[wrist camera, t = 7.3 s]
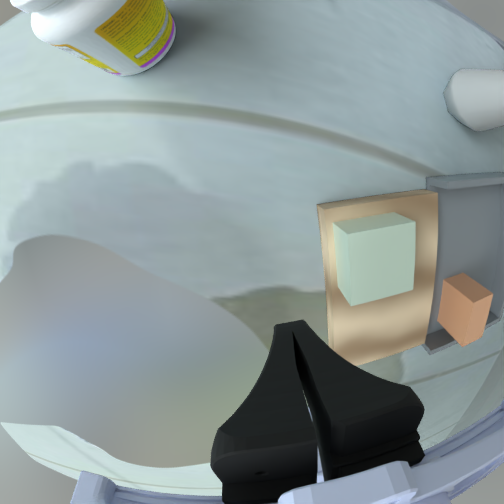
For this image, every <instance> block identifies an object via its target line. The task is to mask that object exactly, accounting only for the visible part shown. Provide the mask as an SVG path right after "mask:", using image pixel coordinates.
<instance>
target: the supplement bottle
mask: <svg viewBox="0 0 504 504" xmlns="http://www.w3.org/2000/svg"><path fill="white" fill-rule="evenodd" d="M10 2H11V4H12V5H13V6H15V7H17V8H18V9H20V10H22V11H24V12H26V13H32V15H31V26H32V29H33V32H34V33H35V35H36V36H37V37H38V38H39V39H40V40H42V41H44V42H46V43H48V44H51V45H53V46H56V47H58V48H60V49H62V50H64V51H67V52H69V53H71V54H73V55H75V56H77V57H79V58H81V59H83V60H85V61H87V62H89V63H91V64H93V65H95V66H97V67H99V68H100V69H102V70H104V71H106V72H109V73H111V74H114V75H118V76H129V75H134V74H138V73H140V72H143V71H145V70H147V69H149V68H151V67H152V66H154V65H155V64H156V63H158V62H159V61H160V60H161V59H162V58H163V57H164V56H165V55H166V53H167V52H168V51H169V49H170V47H171V46H172V44H173V41H174V38H175V33H176V27H175V22H174V20H173V17H172V16H171V14H170V12H169V10H168V8H167V7H166V5H165V3H164V2H163V0H10Z"/></svg>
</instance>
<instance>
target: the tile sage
mask: <svg viewBox="0 0 504 504" xmlns="http://www.w3.org/2000/svg"><path fill="white" fill-rule="evenodd" d="M333 232H334V243H335V255H336V268H337V283H338V288H339V289H340V291H341V292H342V294H343V295H344V297H345V298H346V300H347V301H348V303H349V304H350V306H354V305H359V304H363V303H367V302H370V301H374V300H378V299H382V298H386V297H389V296H393V295H397V294H400V293H404V292H407V291H411V290H413V285H414V270H415V242H416V222H415V221H413V220H411V219H409V218H406V217H404V216H402V215H400V214H397V213H395V212H391V213H385V214H379V215H373V216H367V217H361V218H356V219H350V220H344V221H338V222H333Z"/></svg>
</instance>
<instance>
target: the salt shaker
mask: <svg viewBox="0 0 504 504" xmlns="http://www.w3.org/2000/svg"><path fill="white" fill-rule="evenodd" d="M443 94H444V98H445V101H446V105H447V109H448V112H449V113H450V114H451V115H453V116H454V117H455V118H456V119H457V120H458V121H459V122H460V123H462V124H464V125H465V126H467V127H469V128H471V129H472V130H474V131H478V132H480V131H487V130H490V129H494V128H498V127H501V126H504V70H491V69H461V70H459V71H457V72H456V73H455V74H454V75H453V76H452V77H451V79H450V81H449V83H448V85H447V86H446V88H445V90H444V92H443Z"/></svg>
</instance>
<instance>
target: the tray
mask: <svg viewBox="0 0 504 504" xmlns="http://www.w3.org/2000/svg"><path fill="white" fill-rule="evenodd" d="M426 186H427V190H429V191H433V192H437V193H438V244H437V260H436V273H435V282H434V291H433V299H432V306H431V312H430V318H429V324H428V329H427V334H426V339H425V343H424V344H421V345H422V346H423V347H424V349H425V350H426V351H427V352H428V354H429V355H431V354H434V353H436V352H439V351H441V350H443V349H445V348H448V347H450V346H452V345H454V344H456V343H458V342H457V341H456V340H455V339H454V338H453V337H452V336H451V335H450V334H449V333H448V332H447V330H446V329H445V328H444V327H443V326H442V325H441V324H440V323H439V322H438V321H437V319H438V314H439V308H440V301H441V295H442V287H443V279H446V278H449V277H452V276H455V275H458V274H461V273H465V274H466V275H468V276H469V277H470V278H472V279H473V280H475V281H476V282H478V283H479V284H481V285H482V286H483V287H485V288H486V289H488V290H489V291H490V292H492V293H493V297H492V302H491V306H490V310H489V314H488V318H487V321H486V325H485V328H484V329H486V328H488V327H490V326H492V325H494V324H495V323H497V322H499V321H500V320H501V316H502V313H503V309H504V173H503V172H493V173H475V174H460V175H447V176H435V177H426Z"/></svg>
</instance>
